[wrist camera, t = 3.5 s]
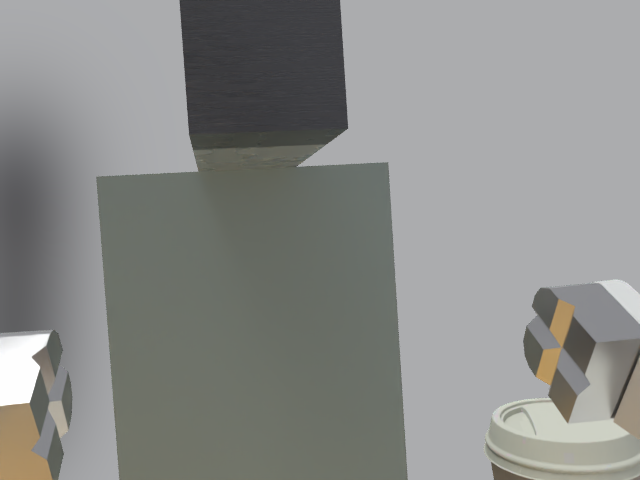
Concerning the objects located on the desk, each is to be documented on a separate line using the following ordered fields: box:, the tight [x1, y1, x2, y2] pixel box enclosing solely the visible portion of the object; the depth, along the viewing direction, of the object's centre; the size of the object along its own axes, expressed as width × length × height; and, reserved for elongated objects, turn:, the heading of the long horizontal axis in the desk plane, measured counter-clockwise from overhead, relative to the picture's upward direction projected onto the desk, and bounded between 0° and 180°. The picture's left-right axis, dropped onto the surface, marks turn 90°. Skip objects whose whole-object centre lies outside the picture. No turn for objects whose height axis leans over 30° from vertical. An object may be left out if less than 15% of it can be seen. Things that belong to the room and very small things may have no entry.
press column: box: [97, 163, 408, 480], centre depth 33 cm, size 16×14×26 cm
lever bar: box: [180, 0, 348, 172], centre depth 27 cm, size 24×4×4 cm, turn 10°
